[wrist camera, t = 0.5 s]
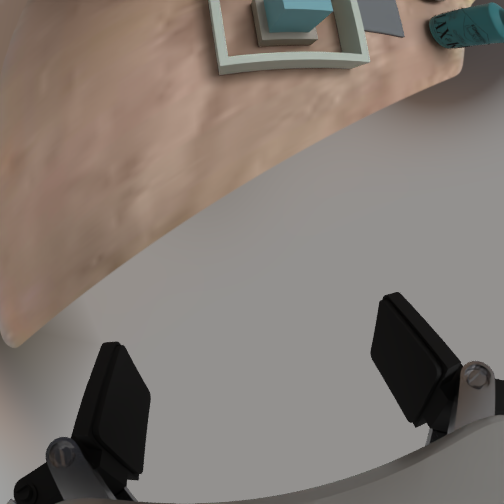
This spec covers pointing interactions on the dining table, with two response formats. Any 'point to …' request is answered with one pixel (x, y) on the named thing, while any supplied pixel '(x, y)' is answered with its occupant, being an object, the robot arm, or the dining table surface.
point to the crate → (293, 42)
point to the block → (296, 14)
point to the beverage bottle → (469, 26)
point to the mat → (381, 17)
